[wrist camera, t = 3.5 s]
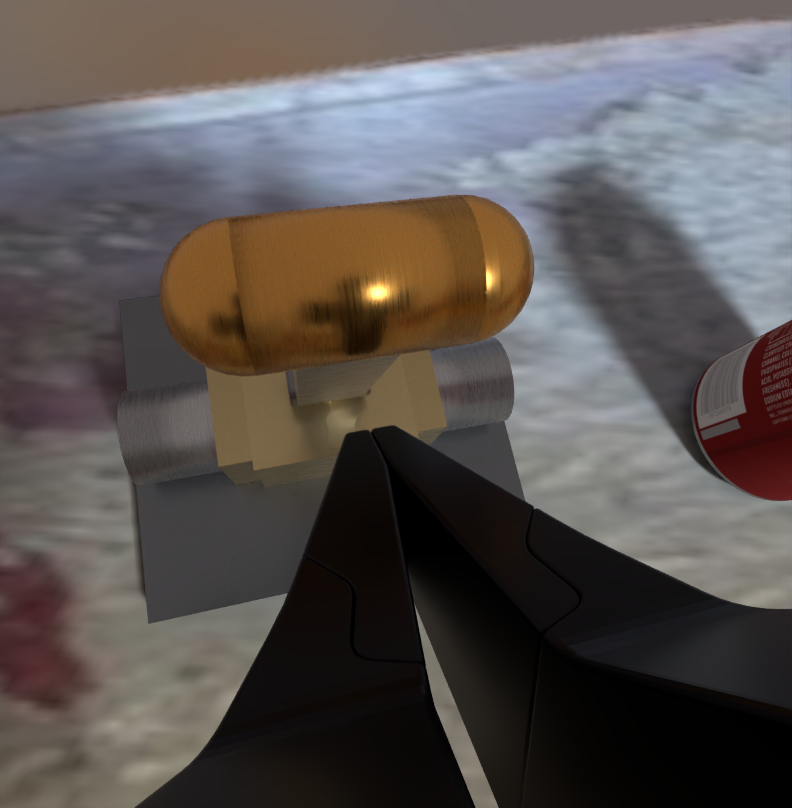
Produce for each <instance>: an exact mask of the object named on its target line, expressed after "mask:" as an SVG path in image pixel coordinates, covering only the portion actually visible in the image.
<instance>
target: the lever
mask: <svg viewBox="0 0 792 808" xmlns="http://www.w3.org/2000/svg"><path fill="white" fill-rule="evenodd" d="M533 277H534V257H533V252H532V248H531V245H530V241H529V239H528V236H527V234H526V232H525V230H524V229H523V228H522V226H521V225H520V223H519V222H518V220H517V219H516V218H515V217H514V216H513V215H512V214H511V213H510V212H508V211H507V210H506V209H505V208H504V207H502V206H501V205H499V204H497V203H495V202H493V201H491V200H489V199H487V198H482V197H478V196H474V195H447V196H437V197H427V198H416V199H406V200H396V201H386V202H375V203H365V204H355V205H345V206H335V207H324V208H314V209H304V210H294V211H283V212H273V213H263V214H253V215H243V216H232V217H226V218H221V219H216V220H212V221H210V222H207V223H205V224H203V225H200V226H198V227H197V228H195V229H194V230H192V231H191V232H190V233H188V234H187V235H185V236H184V237H183V238H182V239H181V241H180V242H179V243H178V244H177V245H176V246H175V247H174V248H173V250H172V251H171V253H170V255H169V257H168V259H167V260H166V262H165V265H164V269H163V272H162V275H161V279H160V293H159V300H160V307H161V312H162V316H163V319H164V321H165V323H166V325H167V327H168V330H169V332H170V334H171V336H172V337H173V338H174V340H175V341H176V342H177V343H178V345H179V346H180V347H181V349H182V350H183V351H184V352H185V353H187V354H188V355H189V356H190V357H191V358H192V359H194V360H195V361H197V362H198V363H200V364H202V365H204V366H205V367H207V368H209V369H211V370H214V371H217V372H220V373H223V374H226V375H233V376H240V377H246V376H260V375H266V374H273V373H280V372H285V374H286V380H287V386H288V392H289V398H290V404H291V408H292V407H298V406H304V405H311V404H317V403H323V402H329V401H335V400H342V399H348V398H354V397H360V396H366V395H370V393H371V387H372V386H373V385H374V384H375V383H376V381H377V380H378V379H379V378H380V377H381V376H382V375H383V374H384V373H385V371H386V370H387V369H388V368H389V367H390V366H391V365H392V364H393V363H394V361H395V360H396V359H397V358H398V357H399V356H400V355H401V354H407V353H414V352H420V351H427V350H434V349H441V348H447V347H454V346H461V345H467V344H472V343H476V342H480V341H483V340H486V339H488V338H490V337H492V336H494V335H496V334H498V333H500V332H501V331H502V330H503V329H505V328H506V327H507V326H508V325H510V324H511V323H512V322H513V320H514V319H515V318H516V317H517V316H518V314H519V313H520V312H521V310H522V309H523V307H524V305H525V303H526V301H527V299H528V297H529V295H530V292H531V288H532V284H533Z"/></svg>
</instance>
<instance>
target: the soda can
mask: <svg viewBox="0 0 792 808" xmlns="http://www.w3.org/2000/svg"><path fill="white" fill-rule="evenodd" d="M691 420H692V426H693V431H694V434H695V437H696V440H697V442H698V445H699V447H700V449H701V451H702V453H703V454H704V456H705V457H706V459H707V460H708V462H709V463H710V464H711V466H712V467H713V468H714V469H715V470H716V472H717V473H718V474H719V475H720V476H721V477H722V478H724V479H725V480H726V481H727V482H728V483H730V484H731V485H733V486H734V487H735V488H737V489H739V490H740V491H742V492H744V493H746V494H749V495H751V496H754V497H757V498H760V499H764V500H770V501H788V500H792V320H791V321H789V322H787V323H785V324H783V325H781V326H779V327H777V328H775V329H773V330H772V331H770V332H768V333H766V334H764V335H762V336H760V337H758V338H756V339H754V340H752V341H750V342H749V343H747V344H745V345H743V346H741V347H739V348H737V349H735V350H733V351H731V352H729V353H727V354H726V355H724V356H722V357H720V358H718V359H716V360H715V361H713V362H712V363H711V364H710V365H709V366H707V368H706V369H705V370H704V371H703V372H702V374H701V375H700V376H699V378H698V380H697V382H696V384H695V387H694V390H693V394H692V399H691Z"/></svg>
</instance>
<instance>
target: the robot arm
mask: <svg viewBox="0 0 792 808" xmlns="http://www.w3.org/2000/svg"><path fill="white" fill-rule="evenodd" d="M414 603H415V605H414ZM415 606H416V608H417V611H418V613H419V616H420V618H421V620H422V623H423V625H424V628H425V630H426V633H427V635H428V637H429V640H430V642H431V645H432V647H433V649H434V652H435V654H436V657H437V659H438V662H439V664H440V666H441V669H442V671H443V674H444V676H445V679H446V681H447V683H448V686H449V688H450V691H451V693H452V696H453V698H454V700H455V703H456V705H457V708H458V710H459V712H460V715H461V717H462V720H463V722H464V725H465V727H466V729H467V732H468V734H469V737H470V739H471V742H472V744H473V746H474V749H475V751H476V754H477V756H478V759H479V761H480V763H481V766H482V768H483V771H484V773H485V775H486V778H487V780H488V783H489V785H490V788H491V790H492V792H493V795H494V797H495V800H496V802H497V805H498V807H499V808H792V609H765V608H757V607H750V606H745V605H741V604H737V603H733V602H730V601H727V600H724V599H721V598H718V597H715V596H713V595H711V594H708V593H706V592H704V591H701V590H699V589H697V588H695V587H693V586H691V585H689V584H686V583H684V582H682V581H680V580H678V579H676V578H674V577H672V576H669V575H667V574H665V573H663V572H661V571H659V570H657V569H654V568H652V567H650V566H648V565H646V564H644V563H642V562H640V561H637V560H635V559H633V558H631V557H629V556H627V555H625V554H622V553H620V552H618V551H616V550H614V549H612V548H610V547H608V546H606V545H604V544H602V543H600V542H598V541H596V540H594V539H592V538H590V537H588V536H586V535H584V534H582V533H580V532H578V531H577V530H575V529H573V528H571V527H569V526H568V525H566V524H564V523H562V522H560V521H559V520H557V519H555V518H553V517H552V516H550V515H548V514H546V513H545V512H543V511H541V510H540V509H537V508H536V509H534V507H533V506H532V505H531V504H529V503H527V502H526V501H524V500H522V499H520V498H519V497H517V496H515V495H514V494H512V493H510V492H508V491H507V490H505V489H503V488H502V487H500V486H498V485H497V484H495V483H493V482H491V481H490V480H488V479H486V478H485V477H483V476H481V475H479V474H478V473H476V472H474V471H473V470H471V469H469V468H467V467H466V466H464V465H462V464H461V463H459V462H457V461H456V460H454V459H452V458H450V457H449V456H447V455H445V454H444V453H442V452H440V451H438V450H437V449H435V448H433V447H432V446H430V445H428V444H426V443H425V442H423V441H421V440H420V439H418V438H416V437H414V436H413V435H411V434H409V433H408V432H406V431H404V430H403V429H401V428H399V427H397V426H395V425H389V426H384V427H378V428H374V429H372V431H371V432H370V431H369V430H361V431H355V432H349V433H347V434H346V435H345V437H344V439H343V442H342V445H341V448H340V451H339V453H338V456H337V459H336V462H335V465H334V468H333V470H332V473H331V476H330V479H329V482H328V484H327V487H326V490H325V493H324V496H323V499H322V501H321V504H320V507H319V510H318V513H317V516H316V518H315V521H314V524H313V527H312V530H311V533H310V535H309V538H308V541H307V544H306V547H305V550H304V552H303V555H302V559H301V560H300V563H299V566H298V569H297V571H296V574H295V577H294V580H293V582H292V584H291V587H290V589H289V592H288V594H287V597H286V599H285V602H284V604H283V606H282V608H281V610H280V612H279V614H278V616H277V618H276V620H275V622H274V624H273V626H272V628H271V630H270V632H269V634H268V636H267V638H266V640H265V642H264V644H263V646H262V647H261V649H260V651H259V653H258V655H257V657H256V659H255V660H254V662H253V664H252V666H251V668H250V670H249V672H248V673H247V675H246V677H245V679H244V681H243V683H242V685H241V686H240V688H239V690H238V692H237V694H236V696H235V698H234V699H233V701H232V703H231V705H230V707H229V709H228V711H227V712H226V714H225V716H224V718H223V720H222V721H221V723H220V725H219V727H218V728H217V730H216V732H215V733H214V735H213V736H212V738H211V739H210V740H209V742H208V743H207V744H206V746H205V747H204V748H203V750H202V751H201V752H200V753H199V755H198V756H197V757H196V758H195V759H194V760H193V761H192V762H191V763H190V764H189V765H188V766H187V767H186V768H184V769H183V770H182V771H181V772H179V773H178V774H177V775H176V776H174V777H173V778H172V779H170V780H169V781H168V782H167V783H165V784H164V785H163V786H162V787H160V788H159V789H158V790H156V791H155V792H154V793H153V794H151V795H150V796H149V797H147V798H146V799H145V800H144V801H142V802H141V803H140V804H138V805H137V806H136V807H135V808H475V805H474V803H473V800H472V798H471V795H470V793H469V790H468V788H467V785H466V783H465V780H464V778H463V776H462V773H461V771H460V768H459V766H458V763H457V761H456V758H455V756H454V753H453V751H452V748H451V746H450V743H449V741H448V738H447V736H446V733H445V731H444V728H443V726H442V723H441V721H440V718H439V716H438V713H437V711H436V708H435V706H434V701H433V697H432V693H431V689H430V684H429V680H428V675H427V670H426V664H425V658H424V653H423V648H422V642H421V637H420V632H419V626H418V621H417V616H416V610H415Z"/></svg>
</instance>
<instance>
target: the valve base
mask: <svg viewBox="0 0 792 808" xmlns="http://www.w3.org/2000/svg"><path fill="white" fill-rule="evenodd" d="M119 304H120V315H121V326H122V337H123V348H124V359H125V370H126V381H127V391H124V392H122V393H121V395H120V397H119V400H118V407H117V427H118V436H119V442H120V447H121V452H122V456H123V459H124V462H125V465H126V468H127V470H128V473H129V475H130V477H131V478H132V480H133V481H134V482H135V483H136V491H137V502H138V513H139V524H140V535H141V546H142V557H143V568H144V579H145V591H146V602H147V613H148V624H149V623H154V622H158V621H163V620H167V619H172V618H176V617H181V616H185V615H190V614H195V613H199V612H204V611H208V610H213V609H217V608H222V607H226V606H231V605H235V604H240V603H244V602H249V601H253V600H258V599H262V598H267V597H272V596H276V595H281V594H285V593H288V592H289V589H290V587H291V584H292V582H293V580H294V577H295V574H296V571H297V569H298V566H299V563H300V560H301V559H302V555H303V552H304V550H305V547H306V544H307V541H308V538H309V535H310V533H311V530H312V527H313V524H314V521H315V518H316V516H317V513H318V510H319V507H320V504H321V501H322V499H323V496H324V493H325V490H326V487H327V484H328V482H329V479H330V476H331V473H332V470H333V468H334V465H335V462H336V459H337V456H338V453H339V451H340V448H341V445H342V442H343V439H344V437H345V435H346V434H347V433H349V432H355V431H361V430H369V431H370V432H371V431H372V429H374V428H378V427H384V426H389V425H395V426H397V427H399V428H401V429H403V430H404V431H406V432H408V433H409V434H411V435H413V436H414V437H416V438H418V439H420V440H421V441H423V442H425V443H426V444H428V445H430V446H432V447H433V448H435V449H437V450H438V451H440V452H442V453H444V454H445V455H447V456H449V457H450V458H452V459H454V460H456V461H457V462H459V463H461V464H462V465H464V466H466V467H467V468H469V469H471V470H473V471H474V472H476V473H478V474H479V475H481V476H483V477H485V478H486V479H488V480H490V481H491V482H493V483H495V484H497V485H498V486H500V487H502V488H503V489H505V490H507V491H508V492H510V493H512V494H514V495H515V496H517V497H519V498H520V499H522V500H524V501H525V498H524V495H523V491H522V487H521V483H520V479H519V476H518V472H517V468H516V464H515V460H514V457H513V453H512V449H511V445H510V441H509V438H508V434H507V430H506V426H505V422H504V421H506V420H507V419H508V418H509V417H510V415H511V413H512V409H513V404H514V383H513V375H512V370H511V366H510V363H509V359H508V357H507V354H506V352H505V350H504V348H503V346H502V344H501V343H500V342H499V341H498V340H497V339H496V338H494V337H490V338H488V339H486V340H483V341H480V342H476V343H472V344H467V345H461V346H454V347H447V348H441V349H434V350H427V351H420V352H414V353H407V354H401V355H400V356H399V357H398V358H397V359H396V360H395V361H394V363H393V364H392V365H391V366H390V367H389V368H388V369H387V370H386V371H385V373H384V374H383V375H382V376H381V377H380V378H379V379H378V380H377V381H376V383H375V384H374V385H373V386H372V387H371V393H370V395H366V396H360V397H354V398H348V399H342V400H335V401H329V402H323V403H317V404H311V405H304V406H298V407H292V408H291V404H290V398H289V392H288V386H287V380H286V374H285V372H280V373H273V374H266V375H260V376H246V377H240V376H233V375H226V374H223V373H220V372H217V371H214V370H211V369H209V368H207V367H205V366H204V365H202V364H200V363H198V362H197V361H195V360H194V359H192V358H191V357H190V356H189V355H188V354H187V353H185V352H184V351H183V350H182V349H181V347H180V346H179V345H178V343H177V342H176V341H175V340H174V338H173V337H172V336H171V334H170V332H169V330H168V327H167V325H166V323H165V321H164V319H163V316H162V312H161V307H160V300H159V296H153V297H145V298H137V299H128V300H120V301H119Z"/></svg>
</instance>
